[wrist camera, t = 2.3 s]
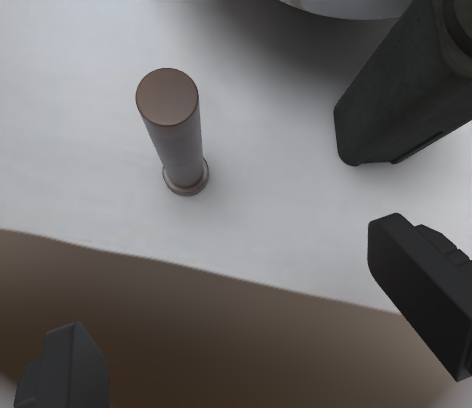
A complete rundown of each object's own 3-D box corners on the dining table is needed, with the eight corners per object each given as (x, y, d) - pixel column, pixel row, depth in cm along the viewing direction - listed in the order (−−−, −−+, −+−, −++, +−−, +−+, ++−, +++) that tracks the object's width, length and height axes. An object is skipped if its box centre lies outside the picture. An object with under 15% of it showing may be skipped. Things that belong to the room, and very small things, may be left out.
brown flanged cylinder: (168, 200, 26) (135, 140, 15) (160, 158, 27) (120, 67, 15) (212, 190, 27) (213, 125, 15) (203, 149, 27) (197, 54, 15)
